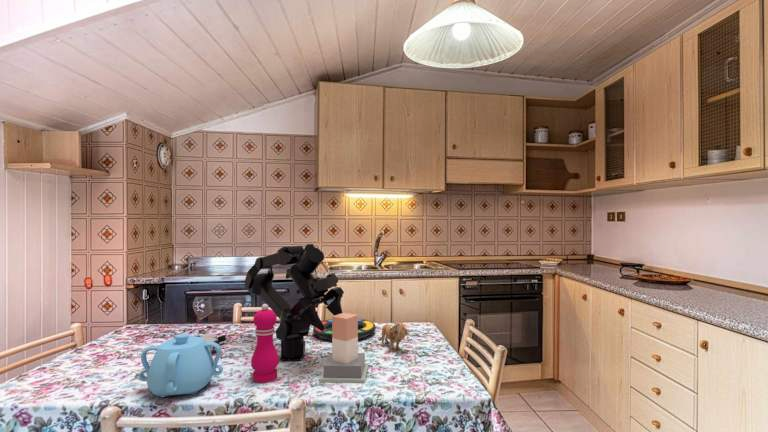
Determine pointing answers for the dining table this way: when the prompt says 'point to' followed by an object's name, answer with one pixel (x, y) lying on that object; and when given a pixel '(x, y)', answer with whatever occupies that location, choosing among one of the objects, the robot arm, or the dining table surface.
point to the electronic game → (363, 331)
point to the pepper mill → (264, 347)
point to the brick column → (344, 337)
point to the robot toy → (213, 339)
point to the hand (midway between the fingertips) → (333, 325)
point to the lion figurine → (393, 335)
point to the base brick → (345, 370)
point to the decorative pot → (180, 365)
